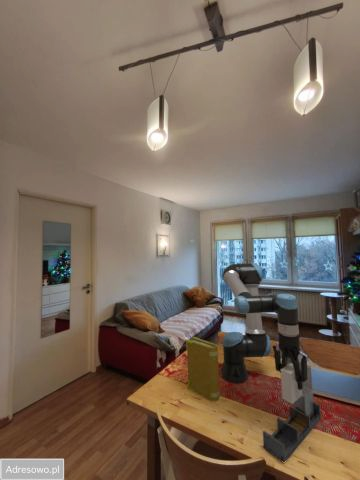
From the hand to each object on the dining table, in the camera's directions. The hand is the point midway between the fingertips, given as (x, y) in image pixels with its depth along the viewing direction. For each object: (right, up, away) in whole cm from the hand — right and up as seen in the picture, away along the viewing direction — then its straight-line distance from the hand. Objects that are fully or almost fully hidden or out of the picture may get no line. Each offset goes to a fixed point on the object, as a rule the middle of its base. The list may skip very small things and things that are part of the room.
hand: (292, 393), depth 85 cm
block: (0, -1, 0) cm, 1 cm away
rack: (0, -15, -1) cm, 15 cm away
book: (-32, -17, +25) cm, 44 cm away
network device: (+15, -16, +23) cm, 32 cm away
